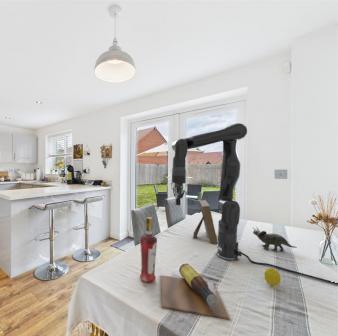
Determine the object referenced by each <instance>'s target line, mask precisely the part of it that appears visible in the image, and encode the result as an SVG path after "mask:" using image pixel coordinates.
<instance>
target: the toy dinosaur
mask: <svg viewBox="0 0 338 336" xmlns="http://www.w3.org/2000/svg"><path fill="white" fill-rule="evenodd" d="M252 229H253V231H252V234H253V235H255V236H256V237H257V238H258V240H259V241H261V242H262V243H264V244H262V247H263V250H266V251H269V247H270V246H274V248H273V249H272V248H271V249H272V251H273V252H277V251H278V247H279V248H280V249H279V252H283V251H284V246H286V247H289V248H292V249H293V248H294V249H295V248H296V249H297V248H298V247H297V246H294V245H291V244H289V242H288V241H287V239H286V238H285V237H284V236H282V235H280V234H278V233H267V231H266V230H262V231H260V229H259V228H258V226H255V228H254V227H252ZM282 245H283V246H282Z"/></svg>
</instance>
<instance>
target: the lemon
mask: <svg viewBox="0 0 338 336" xmlns="http://www.w3.org/2000/svg"><path fill="white" fill-rule="evenodd" d="M263 273H264V274H263V278H264V280H265V282H266V283H267V284H268V285H270V287H277V286H279V285H280V284H281V280H282V279H281V274H280V272H279V271H278V270H277V269H275V267H268V268H266V269H265V271H264V272H263Z"/></svg>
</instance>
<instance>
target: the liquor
mask: <svg viewBox="0 0 338 336" xmlns="http://www.w3.org/2000/svg"><path fill="white" fill-rule="evenodd" d="M145 224H146V225H145V234H142V235H141V236H140V238H139V239H140V240H139V241H140V275H139V278H140V279H141V280H142V281H143V282H144V283H147V284H149V283H152V282H154V281H156V275H155V274H156V257H157V247H158V246H157V245H158V238H157V237H156V236H155V235H154V234H153V229H152V228H153V227H152V224H153V217H150V216H146V217H145Z"/></svg>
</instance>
